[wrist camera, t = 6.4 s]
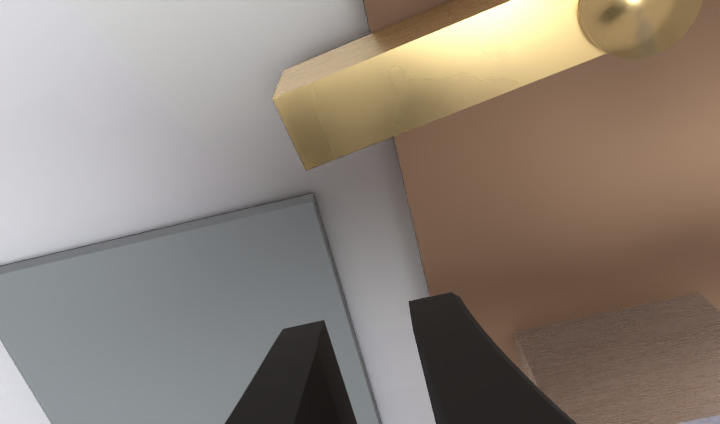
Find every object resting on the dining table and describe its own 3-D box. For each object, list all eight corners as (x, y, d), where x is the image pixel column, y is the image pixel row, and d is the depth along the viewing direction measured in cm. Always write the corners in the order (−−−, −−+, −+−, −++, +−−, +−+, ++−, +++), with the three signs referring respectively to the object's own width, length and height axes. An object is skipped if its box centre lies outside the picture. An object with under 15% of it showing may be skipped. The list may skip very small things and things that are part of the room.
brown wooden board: (724, 487, 22) (759, 537, 20) (482, 533, 23) (495, 585, 21) (744, -220, 13) (811, -245, 11) (338, -111, 14) (337, -118, 12)
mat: (389, 451, 21) (391, 465, 20) (116, 506, 21) (110, 521, 21) (313, 193, 17) (312, 201, 16) (-23, 271, 17) (-35, 282, 17)
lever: (620, -84, 12) (696, -89, 9) (638, 13, 13) (713, 32, 10) (278, 59, 13) (264, 89, 10) (315, 141, 14) (310, 188, 11)
